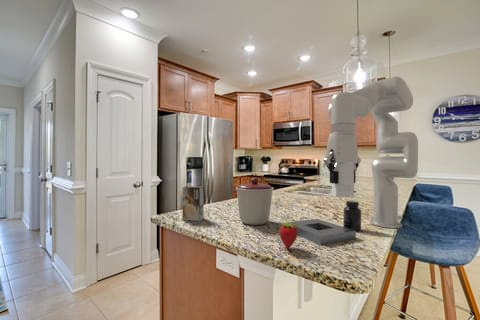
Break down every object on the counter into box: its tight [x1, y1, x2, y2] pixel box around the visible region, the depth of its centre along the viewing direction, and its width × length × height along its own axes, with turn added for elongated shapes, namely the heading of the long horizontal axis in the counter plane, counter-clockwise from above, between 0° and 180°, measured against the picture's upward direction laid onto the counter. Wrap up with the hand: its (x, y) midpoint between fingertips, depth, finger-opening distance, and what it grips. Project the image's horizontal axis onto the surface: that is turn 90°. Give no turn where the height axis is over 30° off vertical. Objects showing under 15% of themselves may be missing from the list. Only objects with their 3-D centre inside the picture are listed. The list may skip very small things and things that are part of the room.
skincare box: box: [331, 161, 355, 198], centre depth 78 cm, size 6×4×12 cm
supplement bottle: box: [342, 200, 362, 232], centre depth 100 cm, size 7×7×12 cm
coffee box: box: [182, 185, 205, 222], centre depth 115 cm, size 9×6×16 cm
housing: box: [286, 218, 357, 246], centre depth 93 cm, size 18×20×3 cm
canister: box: [235, 177, 275, 226], centre depth 110 cm, size 18×18×21 cm
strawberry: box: [278, 219, 298, 250], centre depth 77 cm, size 6×8×10 cm
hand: (342, 182), depth 78 cm, fingers closed on skincare box, 7 cm apart
